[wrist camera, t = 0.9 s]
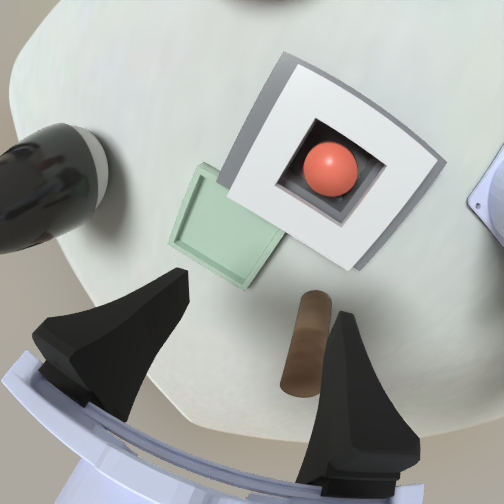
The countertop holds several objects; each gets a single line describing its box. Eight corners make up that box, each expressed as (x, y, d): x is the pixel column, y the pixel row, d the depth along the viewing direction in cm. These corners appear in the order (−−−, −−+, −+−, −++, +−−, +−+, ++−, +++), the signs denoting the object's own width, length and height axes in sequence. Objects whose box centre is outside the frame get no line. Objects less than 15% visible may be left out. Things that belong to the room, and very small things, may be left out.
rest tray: (294, 215, 20) (292, 221, 19) (248, 283, 25) (244, 291, 24) (203, 162, 20) (196, 165, 19) (174, 237, 25) (167, 244, 24)
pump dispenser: (53, 133, 22) (-59, 185, 10) (111, 101, 19) (-47, 150, 7) (76, 213, 27) (-21, 286, 15) (136, 204, 24) (9, 302, 12)
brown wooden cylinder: (337, 300, 23) (329, 387, 16) (319, 318, 25) (304, 401, 17) (312, 285, 23) (294, 371, 16) (294, 304, 25) (272, 386, 17)
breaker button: (365, 159, 15) (368, 164, 14) (338, 197, 17) (338, 206, 16) (322, 130, 15) (321, 133, 14) (297, 171, 17) (293, 177, 16)
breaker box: (436, 156, 15) (459, 170, 11) (358, 256, 20) (360, 287, 17) (288, 56, 14) (277, 44, 11) (226, 174, 20) (203, 191, 17)
